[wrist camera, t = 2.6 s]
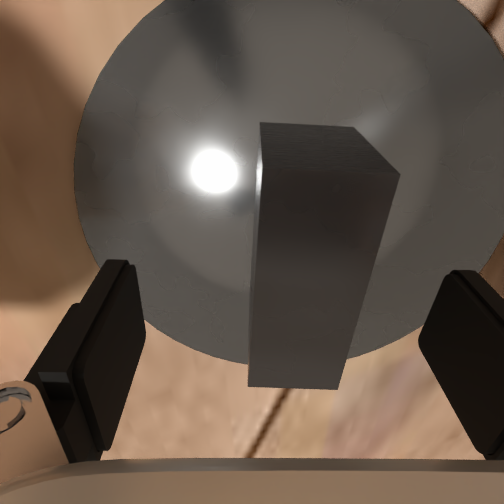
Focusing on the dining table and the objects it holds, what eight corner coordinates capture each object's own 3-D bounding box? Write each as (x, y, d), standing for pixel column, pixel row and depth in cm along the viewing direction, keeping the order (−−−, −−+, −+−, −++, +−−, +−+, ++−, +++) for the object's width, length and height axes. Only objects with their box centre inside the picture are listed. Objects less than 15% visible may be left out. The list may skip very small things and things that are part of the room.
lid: (613, -27, 10) (891, -67, 6) (426, 361, 19) (477, 460, 15) (24, -64, 10) (-167, -138, 5) (119, 349, 19) (78, 448, 15)
